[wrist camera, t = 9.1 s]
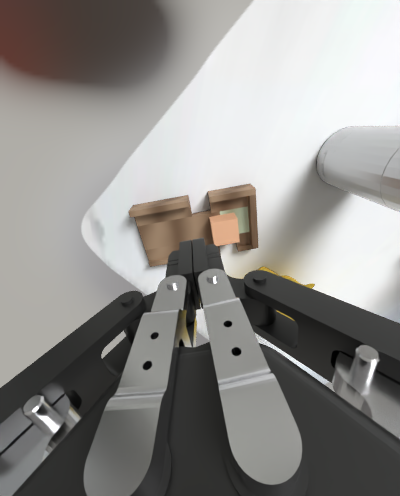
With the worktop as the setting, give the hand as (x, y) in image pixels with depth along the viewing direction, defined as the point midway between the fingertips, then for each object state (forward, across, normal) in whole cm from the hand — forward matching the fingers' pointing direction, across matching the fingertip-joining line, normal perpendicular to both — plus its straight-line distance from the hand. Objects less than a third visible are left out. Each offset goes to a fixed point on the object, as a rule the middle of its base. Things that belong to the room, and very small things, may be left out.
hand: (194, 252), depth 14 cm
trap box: (+27, +1, +10) cm, 29 cm away
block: (+26, -4, +10) cm, 28 cm away
